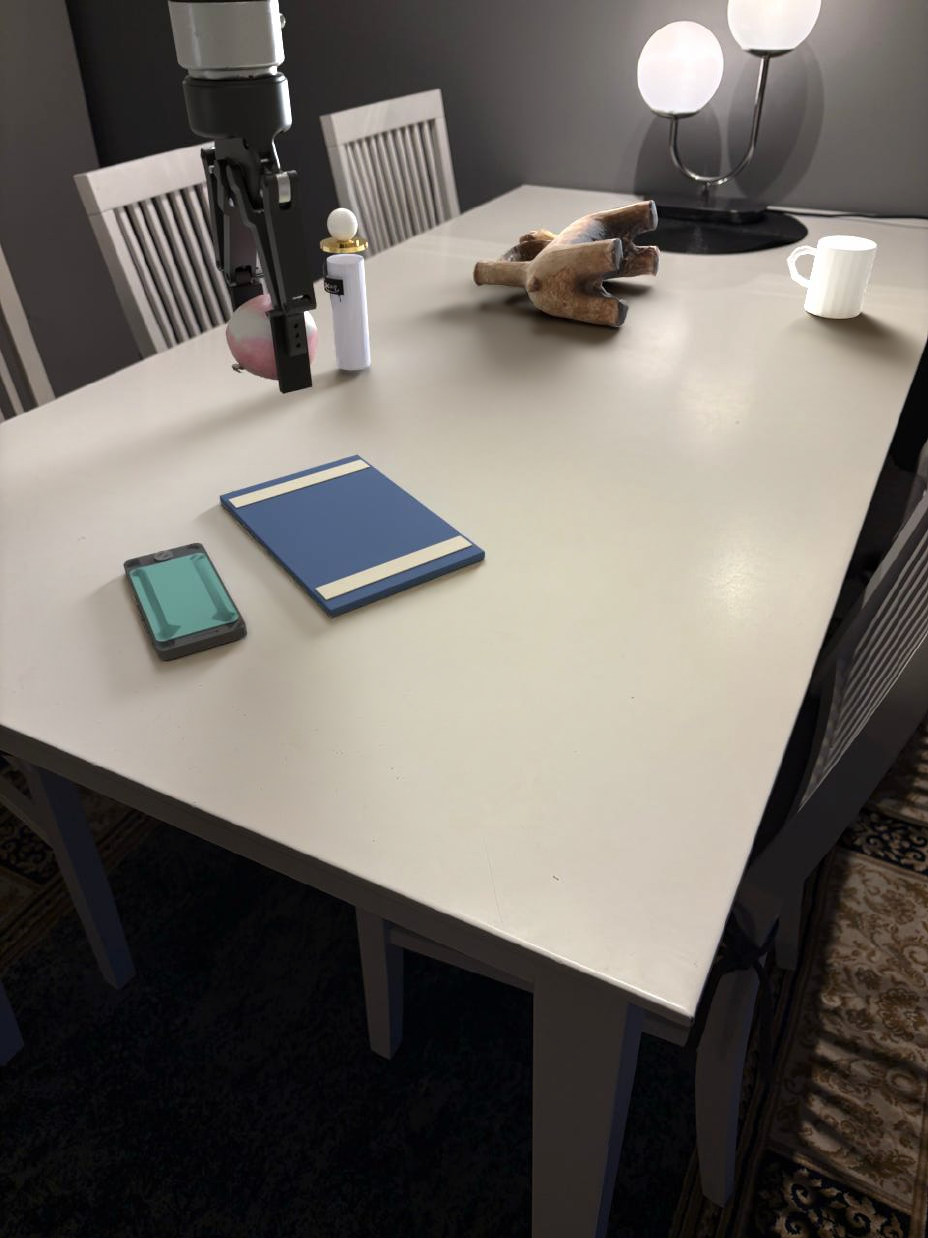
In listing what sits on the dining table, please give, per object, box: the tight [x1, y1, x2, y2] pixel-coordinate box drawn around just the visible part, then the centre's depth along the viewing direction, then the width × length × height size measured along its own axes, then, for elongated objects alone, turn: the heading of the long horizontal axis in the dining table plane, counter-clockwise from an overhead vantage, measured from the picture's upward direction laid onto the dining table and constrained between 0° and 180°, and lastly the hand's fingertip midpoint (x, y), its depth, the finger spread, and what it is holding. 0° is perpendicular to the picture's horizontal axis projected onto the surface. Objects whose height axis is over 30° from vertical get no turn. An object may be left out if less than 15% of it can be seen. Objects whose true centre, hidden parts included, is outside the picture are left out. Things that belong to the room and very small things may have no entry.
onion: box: [225, 293, 319, 381], centre depth 78 cm, size 8×8×7 cm
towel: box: [219, 454, 486, 618], centre depth 88 cm, size 24×16×1 cm, turn 35°
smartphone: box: [122, 542, 248, 661], centre depth 78 cm, size 7×1×15 cm
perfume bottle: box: [319, 207, 372, 371], centre depth 115 cm, size 6×6×20 cm
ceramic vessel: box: [472, 199, 661, 328], centre depth 142 cm, size 13×31×25 cm
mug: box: [786, 235, 878, 320], centre depth 136 cm, size 8×12×10 cm
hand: (275, 372), depth 80 cm, fingers closed on onion, 8 cm apart
